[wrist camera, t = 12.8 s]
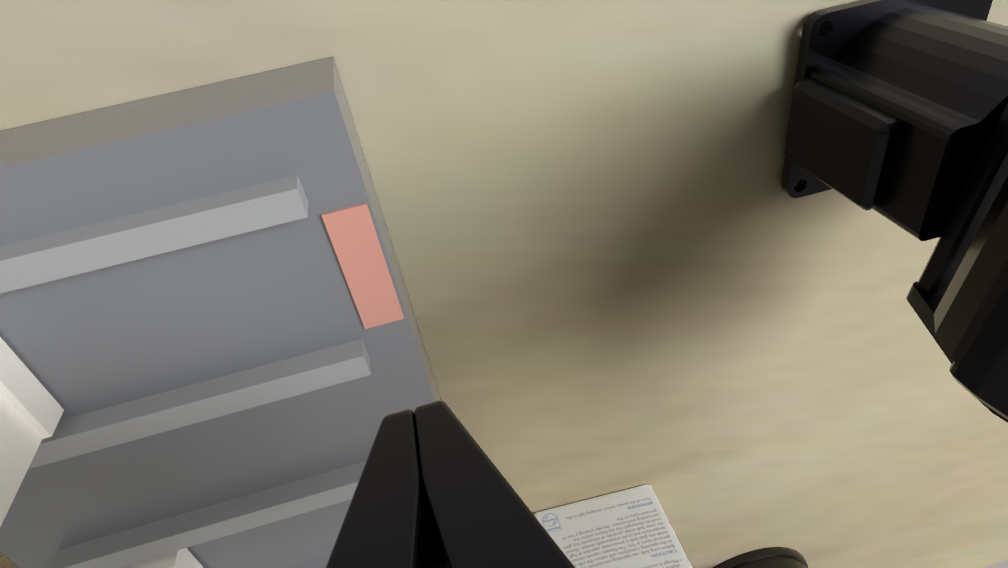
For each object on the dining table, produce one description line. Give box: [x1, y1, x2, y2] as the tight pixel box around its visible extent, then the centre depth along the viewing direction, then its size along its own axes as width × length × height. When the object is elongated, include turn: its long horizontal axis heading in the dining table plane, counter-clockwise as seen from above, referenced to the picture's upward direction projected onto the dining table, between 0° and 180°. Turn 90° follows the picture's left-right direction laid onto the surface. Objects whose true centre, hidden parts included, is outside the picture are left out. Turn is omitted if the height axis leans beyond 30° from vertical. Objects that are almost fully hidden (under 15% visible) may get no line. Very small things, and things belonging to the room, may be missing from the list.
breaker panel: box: [0, 57, 441, 568], centre depth 21 cm, size 15×21×4 cm
